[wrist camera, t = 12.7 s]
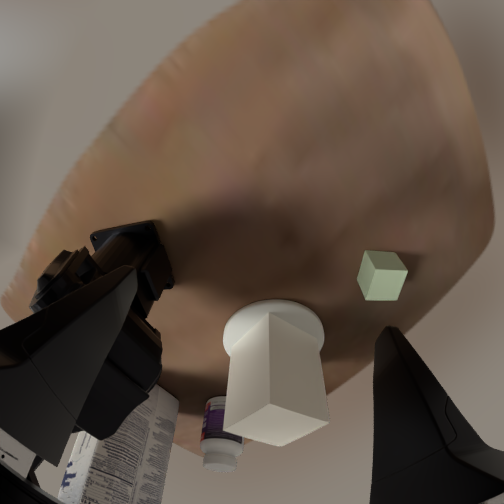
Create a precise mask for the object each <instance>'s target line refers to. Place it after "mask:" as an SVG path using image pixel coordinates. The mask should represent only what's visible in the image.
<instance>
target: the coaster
mask: <svg viewBox="0 0 504 504" xmlns="http://www.w3.org/2000/svg"><path fill="white" fill-rule="evenodd" d="M268 312H270V313H271V314H273V315H275V316H277V317H278V318H280V319H282V320H284V321H286V322H288V323H289V324H291V325H293V326H295V327H297V328H298V329H300V330H302V331H304V332H306V333H308V334H310V335H311V336H313V337H315V338H317V342H318V348H319V352H320V350H321V348H322V346H323V343H324V330H323V326H322V323H321V321H320V319H319V317H318V316H317V315H316V314H315V313H314V312H313V311H312V310H311V309H309V308H308V307H306V306H304V305H302V304H300V303H297V302H293V301H289V300H282V299H270V300H262V301H258V302H254V303H251V304H249V305H246V306H244V307H242V308H241V309H239V310H238V311H236V312H235V313H234V314H233V315H232V316H231V317H230V318H229V320H228V321H227V323H226V326H225V329H224V336H223V344H224V348H225V350H226V352H227V353H228V355H229V356H230V357H231V349H232V346H233V345H234V344H235V343H237V342H238V341H239V340H240V339H241V338H242V337H243V336H244V335H245V334H246V333H247V332H248V331H249V330H250V329H251V328H252V327H254V326H255V325H256V324H257V323H258V322H259V321H260V320H261V319H262V318H263V317H264V316H265V315H266V314H267V313H268Z"/></svg>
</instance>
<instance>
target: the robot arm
mask: <svg viewBox="0 0 504 504" xmlns="http://www.w3.org/2000/svg"><path fill="white" fill-rule="evenodd" d="M147 226H150V228H151V229H148V228H147ZM94 236H95V237H96V238H97V239H96V238H95V237H94ZM90 240H91V242H92V245H93V247H94V250H95V253H94V254H93V255H92V256H90V254H89V251H88V249H87V248H86V247H85V246H84V247H83V248H81V249H80V250H79V251H78V250H76V251H74V252H69V251H66V250H63V251H62V252H61V253H60V254H59V255H58V256H57V257H56V258H55V259H54V260H53V261H52V262H51V263H50V264H49V265H48V266H47V268H46V269H45V270H44V271H43V273H42V274H41V276H40V277H39V278H38V280H37V290H36V291H35V294H34V296H33V298H32V301H31V303H30V306H29V308H30V309H31V310H32V311H33V312H34V313H33V314H32V315H31V316H29V317H27V318H25V319H23V320H21V321H19V322H16V323H14V324H12V325H10V326H8V327H6V328H4V329H2V330H0V504H65V503H63V502H62V501H60V500H58V499H57V498H55V497H53V496H52V495H50V494H48V493H47V492H45V491H44V490H42V489H41V488H40V486H39V483H38V480H37V478H36V475H35V473H34V471H35V470H36V469H37V467H38V466H39V465H40V464H41V463H42V461H43V460H46V461H48V462H49V463H51V464H53V465H54V466H56V467H57V466H58V464H59V462H60V459H61V457H62V454H63V452H64V449H65V446H66V444H67V442H68V439H69V437H70V435H71V434H72V433H76V432H81V431H85V432H87V433H88V434H90V435H91V436H93V437H94V438H96V439H98V440H100V441H102V440H104V439H106V438H108V437H110V436H112V435H114V434H115V433H116V431H117V430H118V429H119V427H120V426H121V424H122V423H123V421H124V420H125V419H126V418H127V416H128V415H129V414H130V413H131V412H132V411H133V410H134V409H135V408H136V407H137V406H138V405H140V404H141V403H143V402H144V401H146V400H147V399H148V398H149V394H148V393H149V392H150V391H151V390H152V389H153V388H154V386H155V385H156V383H157V382H158V380H159V378H160V375H161V371H162V364H161V354H162V342H161V335H160V332H159V331H158V330H157V329H154V328H153V327H152V326H151V325H150V324H149V323H148V322H147V321H146V320H145V318H147V316H148V314H149V312H150V309H151V307H152V305H153V303H154V301H158V300H159V298H160V296H161V294H162V291H163V290H165V289H172V288H173V286H174V279H173V277H172V274H171V271H172V268H171V265H170V262H169V260H168V257H167V254H166V251H165V248H164V245H162V244H161V243H160V240H159V237H158V234H157V231H156V227H155V225H154V223H153V222H151V221H144V222H139V223H134V224H129V225H124V226H119V227H114V228H109V229H105V230H100V231H95V232H93V233H92V234H91V235H90ZM167 282H169V283H170V284H168V283H167ZM373 396H374V397H373V400H374V443H373V467H372V484H371V493H370V504H504V451H500V450H497V449H494V448H492V447H490V446H488V445H487V444H485V443H484V441H483V440H482V439H481V438H480V437H479V435H478V434H477V433H476V431H475V430H474V429H473V428H472V426H471V425H470V424H469V423H468V422H467V420H466V419H465V418H464V416H463V415H462V414H461V412H460V411H459V410H458V408H457V407H456V406H455V404H454V403H453V401H452V400H451V398H450V397H449V396H447V393H446V392H445V390H444V389H443V387H442V386H441V384H440V383H439V382H438V380H437V379H436V377H435V376H434V375H433V373H432V372H431V371H430V370H429V368H428V367H427V365H426V364H425V363H424V361H423V360H422V359H421V357H420V356H419V355H418V353H417V352H416V351H415V349H414V348H413V347H412V345H411V344H410V343H409V342H408V340H407V339H406V338H405V336H404V335H403V334H402V333H401V331H400V330H399V329H398V328H397V327H394V326H386V327H385V328H384V330H383V331H382V333H381V334H380V336H379V337H378V338H377V340H376V343H375V355H374V373H373Z"/></svg>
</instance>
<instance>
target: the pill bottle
mask: <svg viewBox="0 0 504 504" xmlns="http://www.w3.org/2000/svg"><path fill="white" fill-rule="evenodd" d="M225 405H226V396H219V397H214V398H211V399H209V400H208V401H207V403H206V407H205V413H204V420H203V427H202V434H201V441H200V448H201V450H202V451H203V452H204V453H205V454H206V455H205V456H204V460H203V466H204V467H205V468H207V469H209V470H212V471H218V472H232V471H235V470H236V466H237V460H236V458H235V457H237V456H239V455H241V453H242V452H243V448H244V437H242V436H239V435H236V434H232V433H229V432H226V431H223V424H224V414H225Z"/></svg>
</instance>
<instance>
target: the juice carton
mask: <svg viewBox="0 0 504 504" xmlns="http://www.w3.org/2000/svg"><path fill="white" fill-rule="evenodd" d="M148 394H149V398H148V399H147V400H146V401H144V402H143V403H141V404H140V405H138V406H137V407H136V408H135V409H134V410H133V411H132V412H131V413H130V414H129V415H128V416H127V418H126V419H125V420H124V421H123V423H122V424H121V426H120V427H119V429H118V430H117V431H116V433H115V434H114V435H112V436H110V437H108V438H106V439H104V440H102V441H100V440H98V439H96V438H94V437H93V436H91V435H90V434H88V433H87V432H85V431H81V432H79V434H78V437H77V440H76V442H75V445H74V448H73V451H72V454H71V457H70V460H69V463H68V466H67V469H66V472H65V475H64V478H63V481H62V484H61V488H60V492H59V495H58V498H57V499H58V500H60V501H62V502H63V503H65V504H161V500H162V494H163V489H164V483H165V478H166V472H167V467H168V461H169V457H170V452H171V447H172V442H173V437H174V432H175V426H176V421H177V415H178V409H179V401H178V400H177V399H176V398H175V397H173V396H172V395H171V394H169V393H168V392H167V391H165V390H164V389H163V388H161V387H160V386H159V385H157V384H156V385H155V386H154V388H153V389H152V390H151V391H150V392H149V393H148Z"/></svg>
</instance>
